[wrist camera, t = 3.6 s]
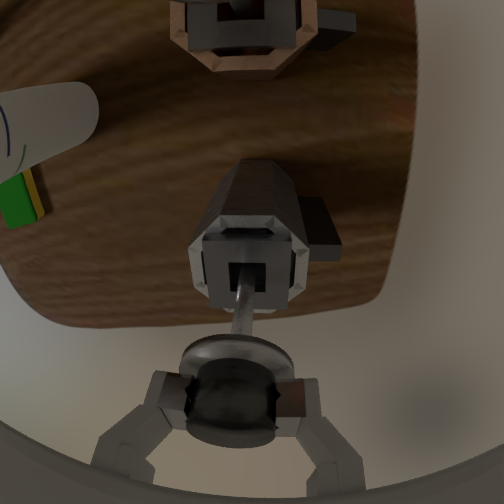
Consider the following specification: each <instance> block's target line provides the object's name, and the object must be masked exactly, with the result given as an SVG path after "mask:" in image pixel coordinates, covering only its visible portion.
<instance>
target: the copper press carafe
mask: <svg viewBox="0 0 504 504" xmlns="http://www.w3.org/2000/svg"><path fill="white" fill-rule="evenodd" d="M251 2H252V7H253V12H254V17H255V20H237V18H236V15H235V13H234V11H233V9H232V7H231V5H230V3H229V2H225V3H217V4H187V3H179V2H174V1H170V39H171V40H173V41H174V42H175V43H177V44H178V45H179V46H181V47H182V48H183V49H185V50H186V51H187V52H189V53H190V54H191V55H192V56H194V57H195V58H196V59H198V60H199V61H200V62H201V63H203V64H204V65H205V66H206V67H208V68H209V69H210V70H211V71H212V72H215V73H218V74H221V75H223V76H226V77H229V78H231V79H234V80H237V81H272V80H273V79H274V78H275V77H276V76H278V75H279V74H280V73H281V72H282V71H283V70H284V69H285V68H287V67H288V66H289V65H290V64H291V63H292V62H293V61H295V59H296V58H297V57H298V56H299V55H300V53H301V52H302V51H303V50H304V49H305V50H319V51H328V50H329V49H331V48H332V47H334V46H336V45H337V44H339V43H340V42H342V41H343V40H345V39H347V38H348V37H350V36H351V35H353V34H355V33H356V14H355V13H349V12H343V11H336V10H328V9H318V8H317V2H316V0H251Z"/></svg>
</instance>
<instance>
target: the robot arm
mask: <svg viewBox="0 0 504 504" xmlns="http://www.w3.org/2000/svg"><path fill="white" fill-rule="evenodd" d="M195 380H196V379H195V376H194V375H189V374H180V373H171V372H165V371H157V370H156V371H155V372H154V373H153V376H152V379H151V382H150V385H149V388H148V391H147V394H146V397H145V400H144V403H143V405H139V406H137V407H136V408H135V409H134V410H132V411H131V412H130V413H129V414H127V415H126V416H125V417H124V418H123V419H122V420H120V421H119V422H118V423H116V424H115V425H114V426H113V427H111V428H110V429H109V430H108V431H106V432H105V433H104V434H103V435H101V436H100V437H99V440H98V443H97V445H96V448H95V452H94V454H93V458H92V461H91V464H90V465H89V464H86V463H83V462H81V461H78V460H76V459H73V458H71V457H68V456H66V455H64V454H62V453H60V452H57V451H55V450H53V449H51V448H49V447H47V446H45V445H43V444H41V443H39V442H37V441H35V440H33V439H31V438H29V437H28V436H26V435H24V434H22V433H20V432H18V431H17V430H15V429H14V428H12V427H10V426H9V425H7V424H5V423H4V422H2V421H0V504H504V444H502V445H499V446H497V447H495V448H493V449H491V450H489V451H487V452H485V453H483V454H480V455H478V456H476V457H474V458H471V459H469V460H467V461H464V462H462V463H459V464H457V465H454V466H452V467H449V468H446V469H443V470H441V471H438V472H435V473H432V474H428V475H426V476H422V477H419V478H415V479H412V480H408V481H405V482H401V483H397V484H392V485H388V486H383V487H379V488H374V489H369V490H366V487H365V477H364V468H363V460H362V457H361V456H360V455H359V454H358V453H357V452H356V451H355V450H354V448H353V447H352V446H351V445H350V444H349V443H348V442H347V441H346V439H345V438H344V437H343V436H342V435H341V434H340V433H339V432H338V430H337V429H336V428H335V427H334V426H333V425H332V424H331V423H330V422H329V420H328V419H327V418H326V417H322V416H321V405H320V396H319V386H318V380H317V379H316V378H311V379H310V378H309V379H302V378H300V379H276V386H275V399H276V407H275V437H296V439H297V440H298V441H299V443H300V444H301V446H302V447H303V449H304V450H305V452H306V453H307V454H308V456H309V457H310V459H311V460H312V462H313V463H314V464H315V466H316V469H315V470H314V472H313V473H312V474H311V476H310V477H309V478H308V480H307V483H306V484H307V497H300V498H247V497H232V496H220V495H212V494H203V493H197V492H190V491H183V490H178V489H173V488H168V487H163V486H158V485H154V484H152V483H153V478H154V473H155V468H154V467H153V466H152V465H151V464H150V463H149V462H148V461H147V460H146V459H145V458H146V457H147V456H148V455H149V454H150V453H151V452H152V451H153V450H154V449H155V448H156V447H157V446H158V445H159V444H160V442H162V441H163V439H164V438H165V437H166V436H167V435H168V434H169V433H170V432H171V431H172V429H179V430H187V429H186V423H187V418H188V413H189V408H190V403H191V399H192V394H193V389H194V385H195Z"/></svg>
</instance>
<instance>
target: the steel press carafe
mask: <svg viewBox="0 0 504 504" xmlns="http://www.w3.org/2000/svg"><path fill="white" fill-rule="evenodd" d="M341 251H342V243H341V240H340V238H339V236H338V233H337V231H336V229H335V226H334V224H333V222H332V219H331V217H330V215H329V213H328V210H327V208H326V206H325V204H324V202H323V199H322V197H299V196H297V194H296V190H295V186H294V183H293V180H292V179H291V178H290V177H289V176H288V175H287V174H286V173H285V172H284V171H283V170H282V169H281V168H280V167H279V166H278V165H277V164H276V163H275V162H274V161H273V160H272V159H241V160H240V161H239V162H238V163H237V164H236V165H235V166H234V167H233V168H232V169H231V170H230V171H229V172H228V173H227V174H226V175H225V176H224V177H223V178H222V179H221V181H220V183H219V185H218V187H217V189H216V191H215V193H214V195H213V197H212V199H211V201H210V203H209V205H208V207H207V209H206V211H205V213H204V215H203V217H202V219H201V221H200V223H199V225H198V227H197V229H196V232H195V234H194V236H193V238H192V240H191V242H190V244H189V246H188V252H189V258H190V265H191V271H192V277H193V283H194V287H195V288H196V289H197V290H199V291H200V292H201V293H203V294H204V295H205V296H207V297H208V298H209V302H210V308H223V309H225V310H226V311H227V312H234V309H235V302H236V295H237V289H238V282H239V275H240V269H241V263H257V268H256V281H255V295H254V308H253V313H272V312H274V311H275V310H287V308H288V301H290V300H291V299H292V298H294V297H295V296H297V295H298V294H299V293H301V292H302V291H304V290H305V286H306V277H307V268H308V261H340V257H341Z"/></svg>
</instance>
